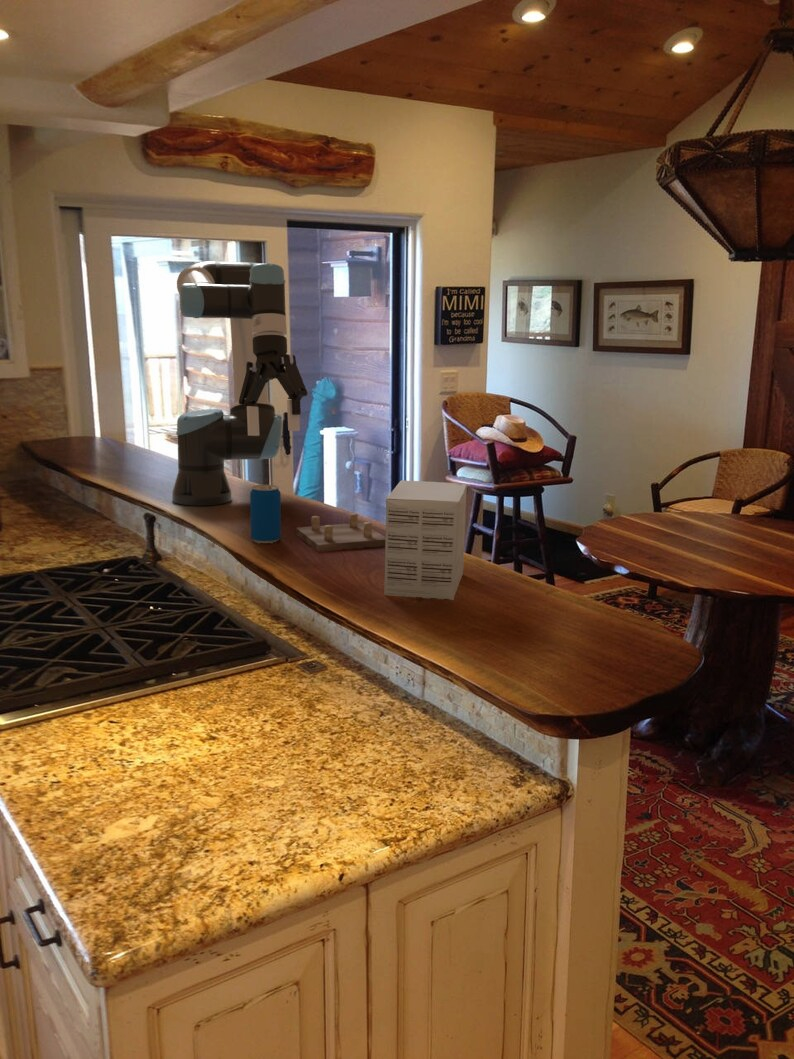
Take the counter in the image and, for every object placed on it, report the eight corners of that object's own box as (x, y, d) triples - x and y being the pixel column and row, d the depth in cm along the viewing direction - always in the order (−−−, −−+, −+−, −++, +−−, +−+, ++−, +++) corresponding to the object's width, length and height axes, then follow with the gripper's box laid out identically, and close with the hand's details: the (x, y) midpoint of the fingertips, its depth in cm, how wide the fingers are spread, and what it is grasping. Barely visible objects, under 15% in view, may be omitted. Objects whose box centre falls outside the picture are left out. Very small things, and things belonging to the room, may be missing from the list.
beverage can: (283, 538, 201) (283, 484, 199) (277, 545, 195) (276, 490, 192) (255, 536, 202) (254, 483, 199) (247, 544, 196) (246, 489, 193)
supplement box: (397, 569, 180) (399, 479, 175) (464, 574, 178) (468, 483, 173) (381, 595, 163) (383, 497, 159) (455, 601, 161) (459, 501, 157)
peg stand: (296, 534, 205) (295, 514, 204) (362, 529, 211) (362, 510, 210) (317, 551, 191) (317, 530, 190) (388, 545, 197) (388, 525, 196)
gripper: (220, 342, 206) (224, 436, 206) (294, 325, 189) (298, 427, 190) (246, 346, 211) (250, 437, 212) (321, 329, 195) (324, 429, 195)
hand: (273, 433), depth 201 cm, fingers open, 13 cm apart
